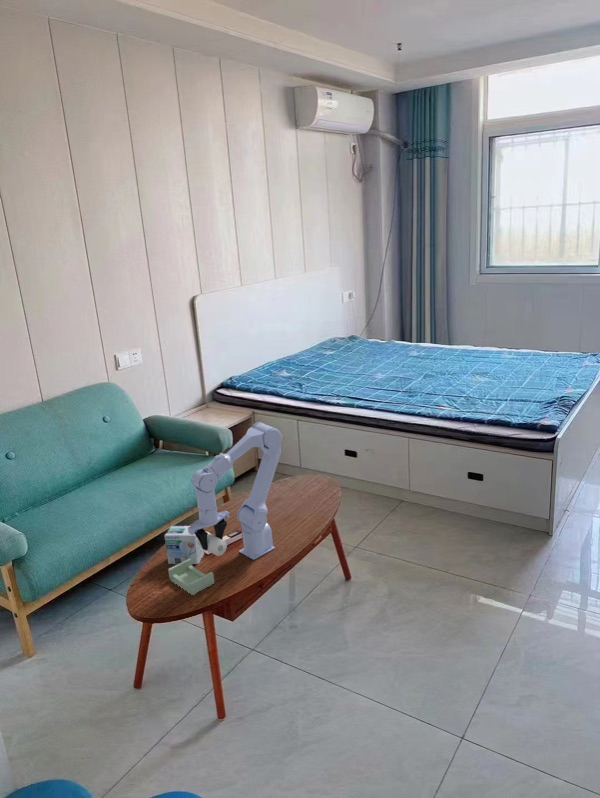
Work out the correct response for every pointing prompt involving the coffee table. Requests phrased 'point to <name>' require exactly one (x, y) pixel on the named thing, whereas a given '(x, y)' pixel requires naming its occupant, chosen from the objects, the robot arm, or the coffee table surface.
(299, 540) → the coffee table surface
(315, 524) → the coffee table surface
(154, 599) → the coffee table surface
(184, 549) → the light bulb box
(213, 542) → the roll
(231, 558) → the coffee table surface
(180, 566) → the holder
